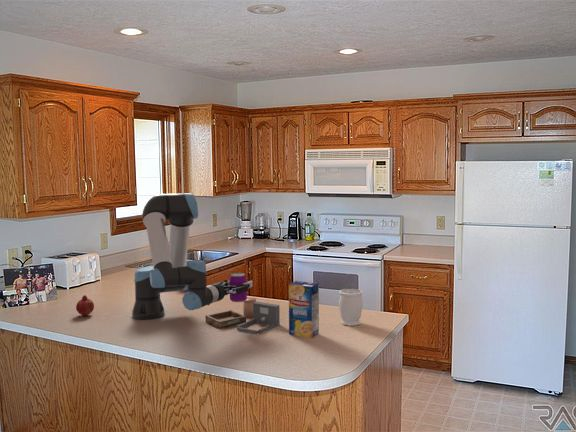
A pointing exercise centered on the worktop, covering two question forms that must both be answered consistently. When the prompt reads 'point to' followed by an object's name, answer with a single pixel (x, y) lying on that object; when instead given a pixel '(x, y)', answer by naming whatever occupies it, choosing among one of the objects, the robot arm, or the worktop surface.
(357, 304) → the jar
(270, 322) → the checker cradle
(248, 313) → the cup
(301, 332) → the beverage box
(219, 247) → the worktop surface
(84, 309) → the fruit
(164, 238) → the robot arm
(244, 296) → the beverage can
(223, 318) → the wooden tray
